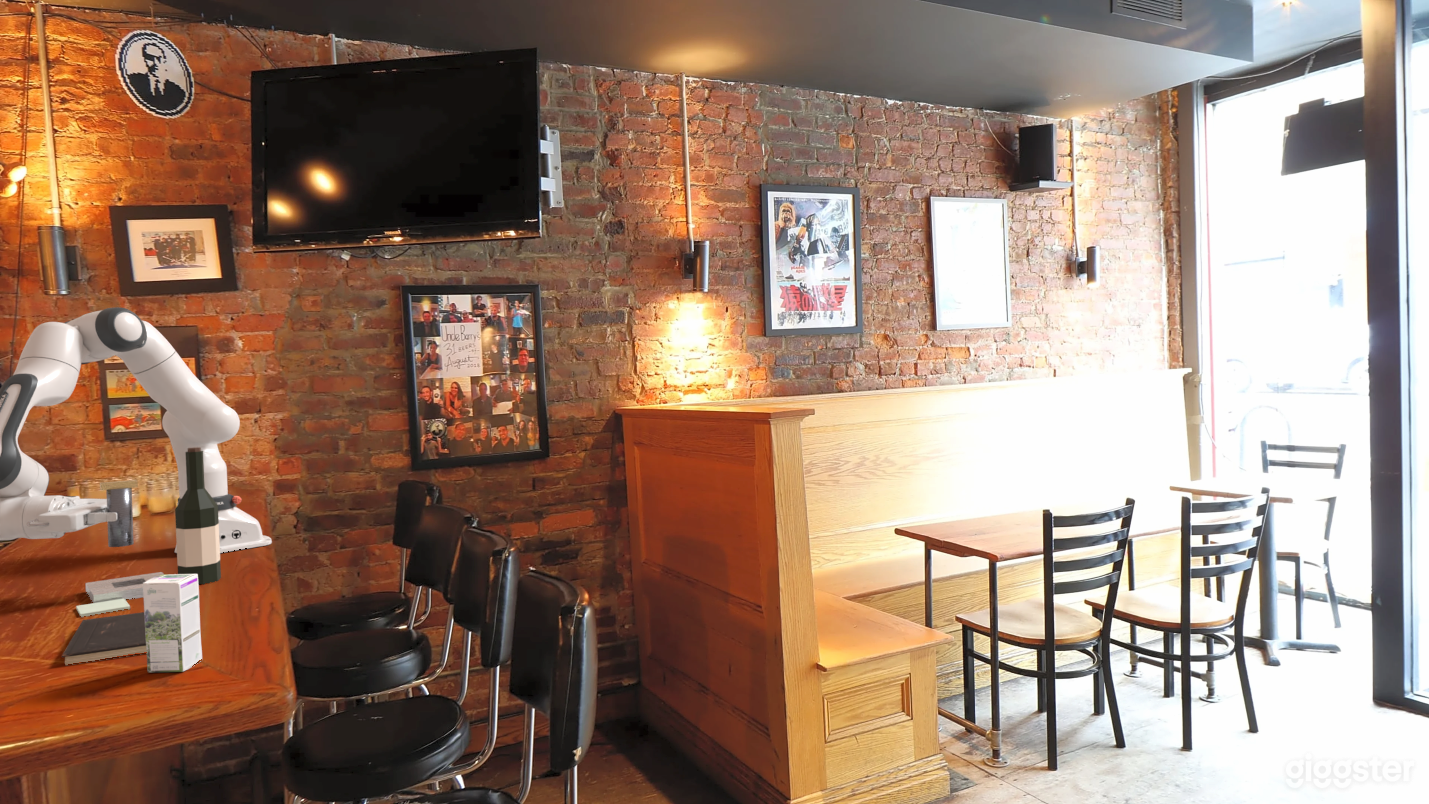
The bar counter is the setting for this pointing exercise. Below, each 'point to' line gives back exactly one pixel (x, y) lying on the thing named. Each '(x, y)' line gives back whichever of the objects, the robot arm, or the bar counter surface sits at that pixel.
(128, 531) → the t key
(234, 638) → the bar counter surface
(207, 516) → the wine bottle
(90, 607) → the coaster
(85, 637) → the hardcover book
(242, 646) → the bar counter surface
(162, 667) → the syrup box
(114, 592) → the plate
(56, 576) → the bar counter surface
